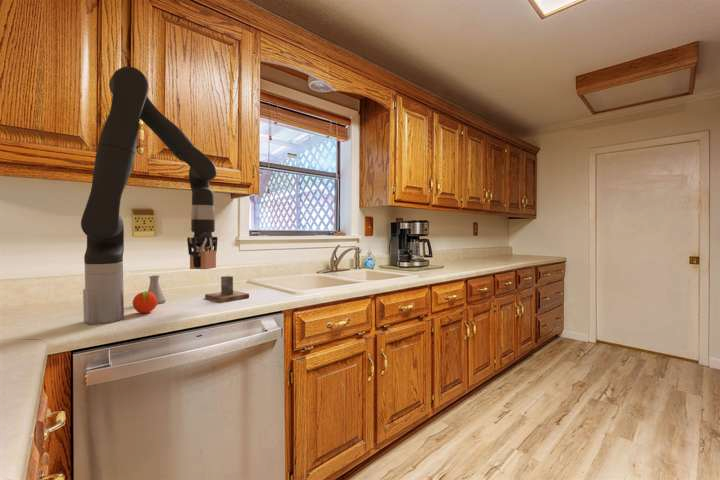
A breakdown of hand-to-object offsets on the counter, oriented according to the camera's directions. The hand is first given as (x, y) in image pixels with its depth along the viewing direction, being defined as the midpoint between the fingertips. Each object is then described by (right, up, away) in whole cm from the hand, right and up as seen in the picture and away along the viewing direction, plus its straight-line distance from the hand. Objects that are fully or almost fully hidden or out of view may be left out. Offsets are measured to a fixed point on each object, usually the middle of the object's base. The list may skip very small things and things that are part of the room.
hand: (203, 266), depth 123 cm
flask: (-21, -14, +7) cm, 26 cm away
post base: (+3, -14, +16) cm, 21 cm away
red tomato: (-15, -15, -9) cm, 23 cm away
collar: (0, -1, 0) cm, 1 cm away
